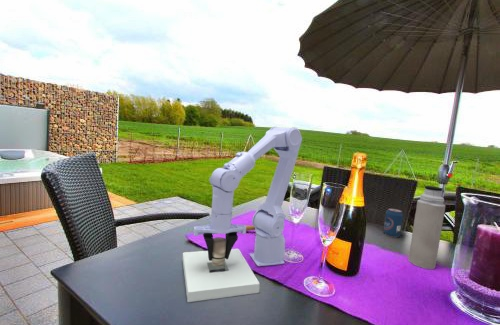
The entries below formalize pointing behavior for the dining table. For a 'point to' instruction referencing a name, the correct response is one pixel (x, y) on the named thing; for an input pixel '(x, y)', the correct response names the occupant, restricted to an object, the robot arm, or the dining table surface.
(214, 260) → the birch peg
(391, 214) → the soda can
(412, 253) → the thermos bottle
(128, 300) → the dining table surface
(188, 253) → the hole board
